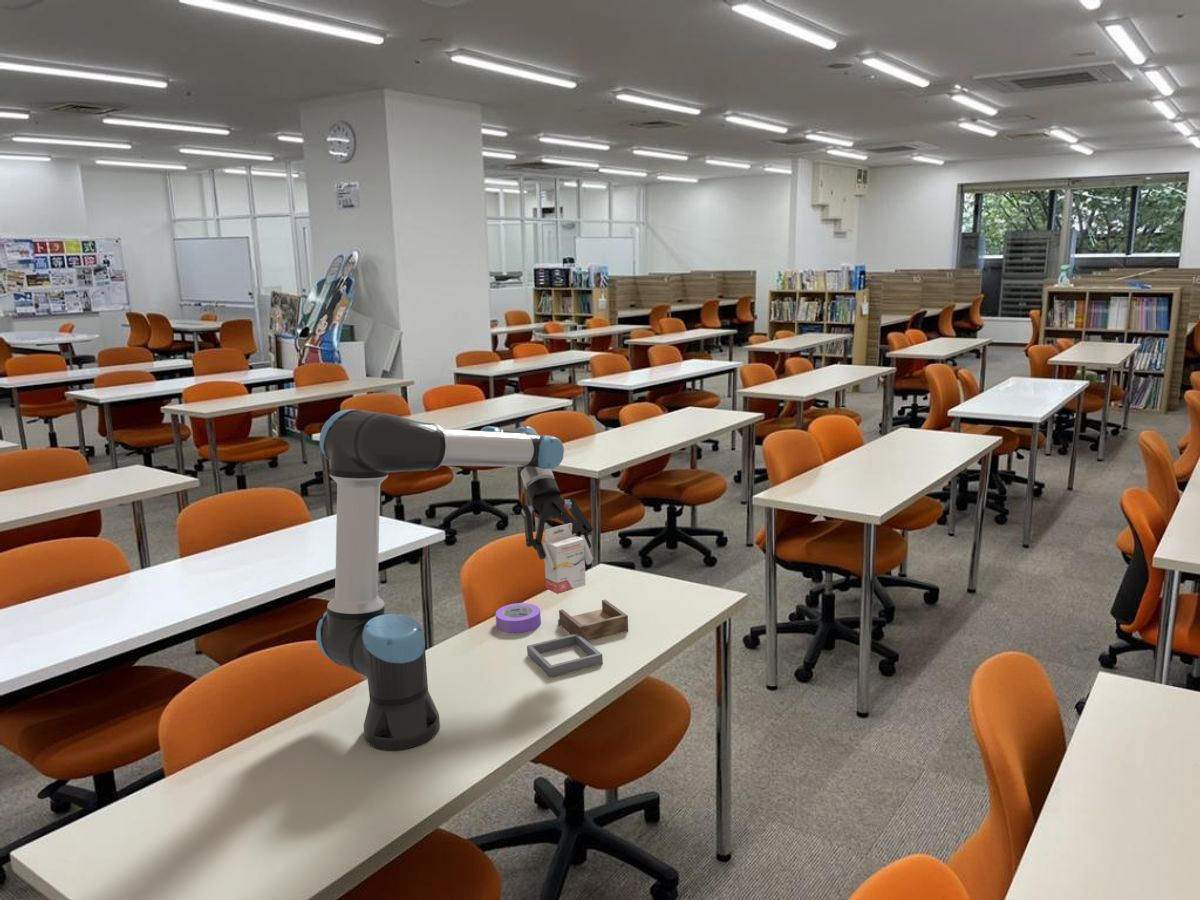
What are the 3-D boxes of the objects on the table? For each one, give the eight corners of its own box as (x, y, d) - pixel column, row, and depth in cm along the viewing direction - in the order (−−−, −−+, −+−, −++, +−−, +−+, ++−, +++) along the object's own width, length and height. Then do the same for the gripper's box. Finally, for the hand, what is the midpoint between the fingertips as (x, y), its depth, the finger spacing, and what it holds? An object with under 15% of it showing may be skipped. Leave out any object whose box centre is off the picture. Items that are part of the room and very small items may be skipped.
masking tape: (488, 631, 223) (487, 618, 222) (507, 614, 234) (506, 600, 233) (530, 636, 220) (529, 622, 219) (547, 618, 230) (546, 604, 230)
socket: (550, 678, 197) (549, 668, 196) (527, 655, 209) (526, 645, 208) (602, 664, 203) (602, 654, 202) (577, 642, 214) (577, 633, 214)
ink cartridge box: (558, 595, 200) (554, 534, 196) (545, 589, 203) (542, 529, 200) (587, 585, 205) (584, 526, 202) (574, 579, 209) (571, 521, 205)
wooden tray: (580, 643, 214) (579, 627, 213) (558, 623, 226) (557, 608, 225) (628, 631, 220) (627, 615, 219) (604, 612, 232) (603, 598, 231)
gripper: (576, 485, 218) (608, 564, 208) (495, 499, 209) (523, 582, 198) (585, 469, 212) (617, 549, 202) (501, 483, 203) (530, 567, 192)
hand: (570, 565), depth 200 cm, fingers closed on ink cartridge box, 9 cm apart
